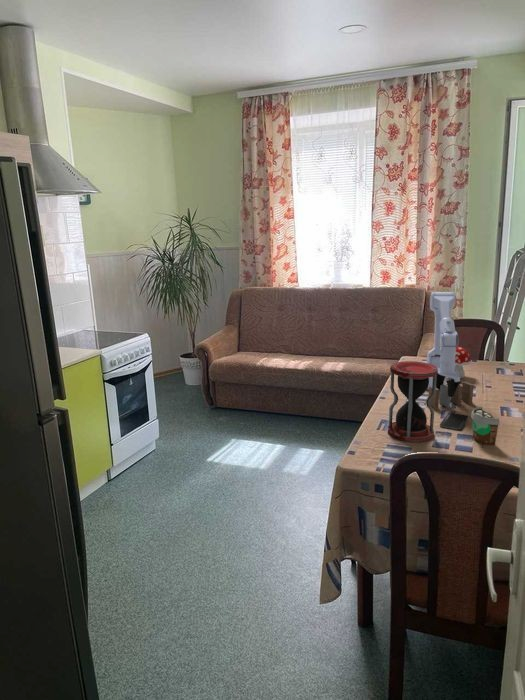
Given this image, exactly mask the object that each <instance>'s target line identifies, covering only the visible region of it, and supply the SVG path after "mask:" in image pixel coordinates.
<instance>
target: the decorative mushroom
mask: <svg viewBox="0 0 525 700" xmlns="http://www.w3.org/2000/svg"><path fill="white" fill-rule="evenodd" d="M455 347H456V346H455ZM472 363H473V360H472V359H471V358H470V354H469V352H468V350H466V349H465V348H464V347H461V346H457V347H456V354H455V367H454V371H455V372H456V374H457V375H458V376H459V377H460V379H463V377H464V376H465V374H466V373H465V370H464V367H463V366H467V365H471V364H472Z"/></svg>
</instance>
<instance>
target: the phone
mask: <svg viewBox="0 0 525 700" xmlns="http://www.w3.org/2000/svg"><path fill="white" fill-rule="evenodd" d="M469 419H470V418H469V415H467V414H460V413H456V412H448V413H447V414H446V415H445V417H444V418H443V420H442V421H441V422H440V424H439V427H440V428H442V429H443V428H444V429H448V430H452V429H453V430H454V431H459V432H461V431H462V430H463V429H464V427H465V425H466V424H467V422H468V420H469Z"/></svg>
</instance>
